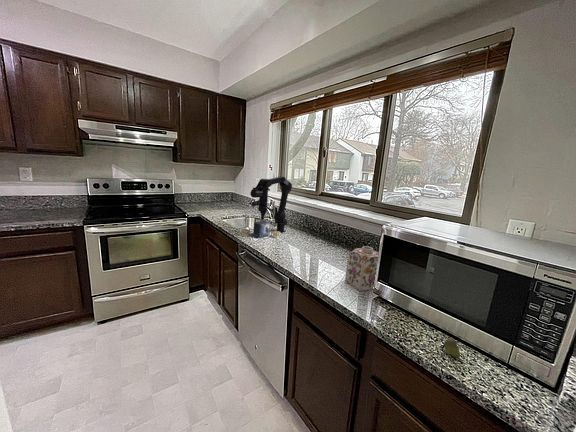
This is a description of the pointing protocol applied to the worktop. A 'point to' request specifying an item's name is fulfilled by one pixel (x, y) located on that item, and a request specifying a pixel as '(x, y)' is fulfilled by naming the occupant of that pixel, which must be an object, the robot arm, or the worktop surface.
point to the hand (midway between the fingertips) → (262, 218)
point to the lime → (451, 347)
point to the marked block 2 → (276, 234)
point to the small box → (261, 229)
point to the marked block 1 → (245, 232)
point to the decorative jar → (362, 268)
